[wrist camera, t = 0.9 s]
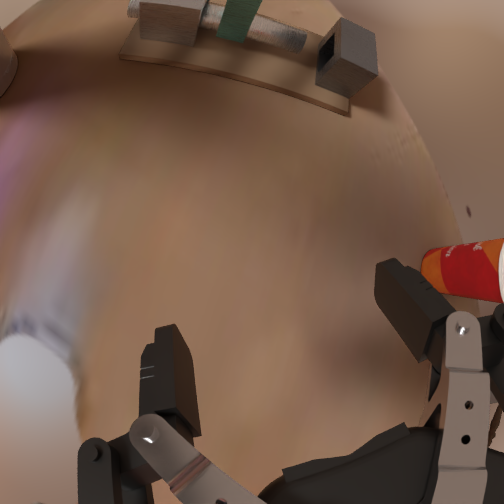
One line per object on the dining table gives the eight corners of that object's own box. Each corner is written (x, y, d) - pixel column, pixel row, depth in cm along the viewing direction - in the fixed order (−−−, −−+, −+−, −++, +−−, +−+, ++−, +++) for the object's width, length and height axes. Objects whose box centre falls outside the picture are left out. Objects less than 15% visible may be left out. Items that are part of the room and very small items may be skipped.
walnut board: (119, 58, 25) (119, 53, 24) (153, -1, 26) (153, -7, 25) (343, 115, 32) (348, 112, 31) (345, 52, 33) (349, 48, 32)
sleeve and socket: (138, 41, 25) (137, 4, 19) (159, 3, 25) (162, -32, 20) (348, 98, 31) (378, 75, 25) (349, 58, 32) (374, 33, 26)
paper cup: (453, 252, 36) (535, 248, 23) (442, 305, 36) (527, 314, 22) (421, 231, 35) (512, 220, 21) (408, 290, 34) (504, 298, 20)
